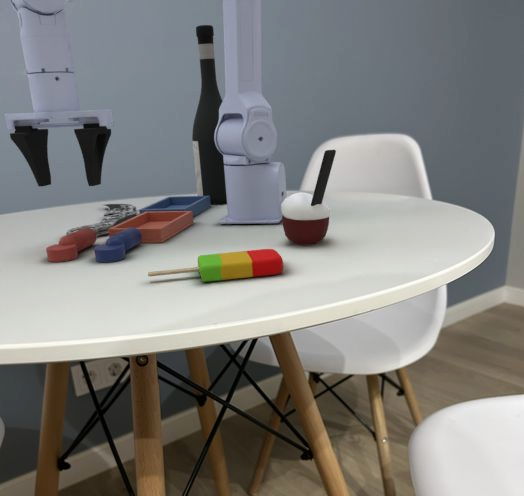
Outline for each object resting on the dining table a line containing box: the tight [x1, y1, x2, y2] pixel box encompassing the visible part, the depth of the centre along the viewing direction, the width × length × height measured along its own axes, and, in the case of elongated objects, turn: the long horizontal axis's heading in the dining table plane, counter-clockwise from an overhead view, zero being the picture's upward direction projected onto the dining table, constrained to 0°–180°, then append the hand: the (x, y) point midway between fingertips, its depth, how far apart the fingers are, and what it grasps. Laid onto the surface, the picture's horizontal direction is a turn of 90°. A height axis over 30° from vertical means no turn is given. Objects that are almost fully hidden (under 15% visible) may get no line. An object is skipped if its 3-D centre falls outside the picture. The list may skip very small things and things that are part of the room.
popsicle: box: [147, 248, 284, 283], centre depth 65 cm, size 6×15×2 cm, turn 100°
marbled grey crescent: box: [65, 203, 138, 237], centre depth 100 cm, size 28×2×10 cm
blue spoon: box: [93, 227, 142, 263], centre depth 78 cm, size 10×4×3 cm, turn 167°
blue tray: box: [138, 195, 212, 218], centre depth 103 cm, size 8×13×2 cm, turn 167°
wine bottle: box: [191, 24, 227, 205], centre depth 107 cm, size 8×8×30 cm
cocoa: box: [281, 149, 337, 246], centre depth 75 cm, size 10×6×12 cm, turn 9°
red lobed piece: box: [45, 228, 98, 263], centre depth 79 cm, size 10×4×3 cm, turn 167°
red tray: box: [108, 211, 194, 244], centre depth 89 cm, size 8×13×2 cm, turn 167°
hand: (69, 185), depth 78 cm, fingers open, 7 cm apart
